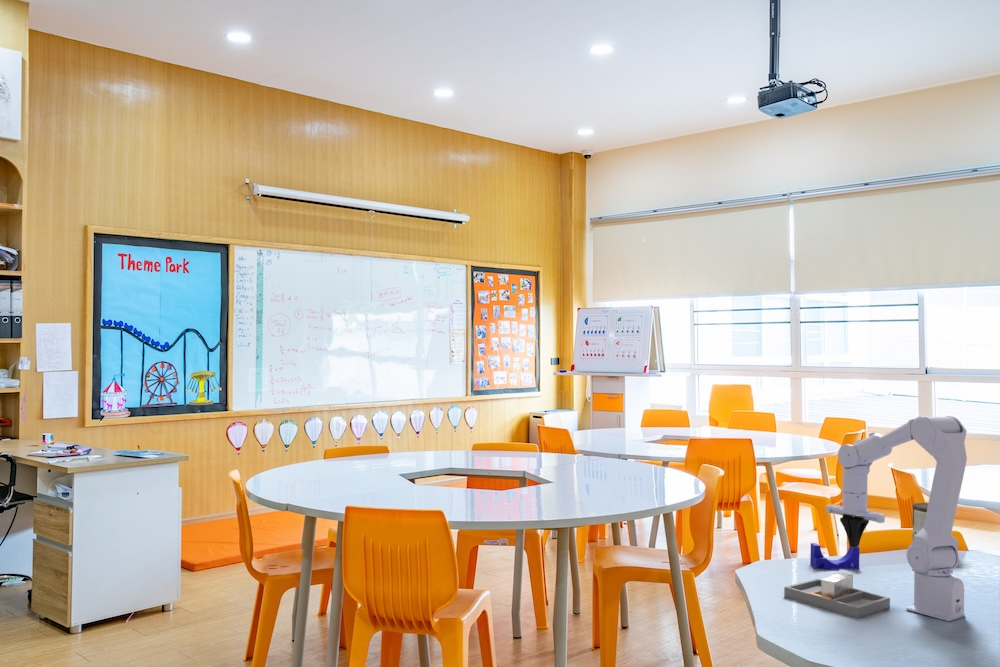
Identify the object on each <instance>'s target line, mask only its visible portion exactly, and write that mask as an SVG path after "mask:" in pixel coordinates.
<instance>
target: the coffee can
mask: <svg viewBox="0 0 1000 667" xmlns="http://www.w3.org/2000/svg"><path fill="white" fill-rule="evenodd" d="M928 503H929V502H917V503H913V504H912V539H913V538H914V536H915V535H916V534H917V533H918V532H919V531H920V530H921V529H922V528H923V527H924V522H925V517H926V512H927V508H928Z"/></svg>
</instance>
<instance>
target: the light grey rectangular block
mask: <svg viewBox="0 0 1000 667" xmlns="http://www.w3.org/2000/svg"><path fill="white" fill-rule="evenodd" d="M821 580H822V582H821V595H822V596H825V597H829V598H832V599H835V598H838V597H842V596H845V595H849V594H852V593H853V588H854V574H850V573H846V572H838V573H834V574H832V575H828V576H827V577H825V578H822V579H821Z"/></svg>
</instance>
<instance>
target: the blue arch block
mask: <svg viewBox="0 0 1000 667" xmlns="http://www.w3.org/2000/svg"><path fill="white" fill-rule="evenodd" d="M848 545H849V544H848ZM809 558H810V563H809V564H810V565H811V567H813V568H815V569H818V570H840V569H852V570H853V569H854V570H860V546H859V547H851V546H850V545H849V547H848V550H847V552H846V553H845V555H843V556H842V557H841V558H839V559H833V560H832V559H828V558H826V557H825V556H824V555H823V553H822V550H821V545H819V544H818V543H817V542H810V557H809Z"/></svg>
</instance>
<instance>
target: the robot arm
mask: <svg viewBox="0 0 1000 667" xmlns="http://www.w3.org/2000/svg"><path fill="white" fill-rule="evenodd" d="M967 432H968V431H967V429H966V428H965V426H964V425H963V424H962V422H961V421H960V420H959V419H958V418H957V417H955V416H952V415H947V416H921V415H920V416H918V417H915V418H913V419H908V421H907V422H906V423H904V424H902V425H900V426H898V427H896V428H894V429H893V430H891V431H889V432H888V433H886V434H883V433H881V432H879V433H878V432H871V433H868V437H866V438H864V439H857V440H855V442H854V443H853V444H848V443H846V444H845V443H844V444H843V445H842V446H840V447H839V449H838V451H837V459H838V462H839V464H840V465H841V466H842V505H836V504H827V505H825V513H827V514H832V515H833V514H834V515H839V516H842V517H840V520H839V522H840V523H841V524H842V526H843V528H844V531H845V534H846V537H847V540H848V545H850V546H851V547H859V548H860V542H861V539H862V536H863V534H864V531H865V529H866V527H867V526H868V524H869V523H870V521H871V522H875V523H879V524H883V523H885V521H886V520H885V519H886V518H885V517H886V515H885V514H884V513H879V512H875V511H871V510H868V475H869V474H870V467H871V466H872V465H873V462H875V461H878V460H880V459H882V458H884V457H887V456H889V455H890V454H891V453H892V452H893V451H892V450H893V448H895V447H897V446H901V445H903V444H905V443H908V442H911V441H915V442H916V443H917V444H918V445H919V446H920V447H921V448H923V449H924V450H925V451H926V452H927V453H928V454H929V455H930V456H932V457H933V458H934V460H935V461H936V465H935V469H934V474H933V479H932V484H931V490H930V494H929V498H928V502H927V503H928V508H927V512H926V517H925V522H924V527H923V528H922V529H921V530H920V531H919V532H918V533H917V534H916V535H915V536H914V538H913V537H912V542H911V543H910V545H909V546H908V547H907V550H906V559H907V563H908V565H909V566H910V567H911V569H912V570H911V571H913V572H914V573H913V574H914V582H913V583H914V584H913V585H914V586H913V589H914V591H913V592H914V593H913V596H914V597H913V605H909V606H907V607H905V609H906V610H907V611H910V612H913V613H917V614H920V615H925V616H928V617H932V618H935V619H938V620H943V621H947V622H950V621H954V620H957V619H959V618H962V617H964V616H966V612H965V586H964V582H963V580H962V579H960V578H957V577H954V576H953V575H952V574H953V573H954V569H955V568H957V566H958V564H959V562H960V561H959V560H960V555H959V551H958V550H959V549H958V547H959V541H958V539H956V537H955V536H953V534H952V530H953V526H954V522H955V517H956V512H957V507H958V503H959V498H960V494H961V488H962V483H963V481H964V480H963V479H964V476H965V475H964V474H965V470H966V465H967V459H968V457H967V450H966V445H965V441H966V436H967Z"/></svg>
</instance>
